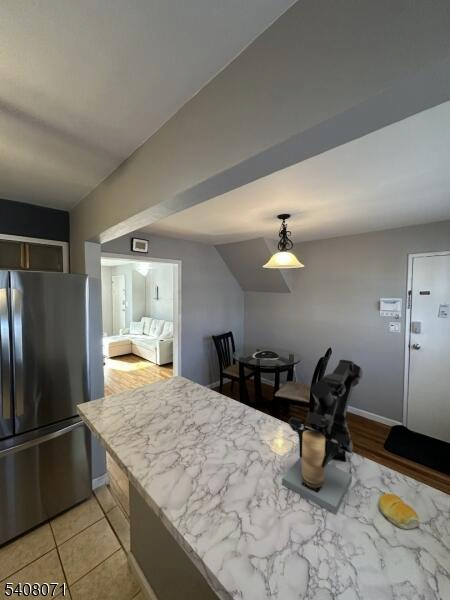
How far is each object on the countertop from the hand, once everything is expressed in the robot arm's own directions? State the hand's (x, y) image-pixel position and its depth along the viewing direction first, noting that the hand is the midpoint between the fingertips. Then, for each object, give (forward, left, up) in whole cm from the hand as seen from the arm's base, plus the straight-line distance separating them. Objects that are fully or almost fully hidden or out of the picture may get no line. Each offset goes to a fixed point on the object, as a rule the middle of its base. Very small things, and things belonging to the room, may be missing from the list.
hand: (311, 462), depth 74 cm
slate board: (-2, -5, -9) cm, 11 cm away
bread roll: (-22, 0, -10) cm, 24 cm away
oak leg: (0, -1, -8) cm, 8 cm away
